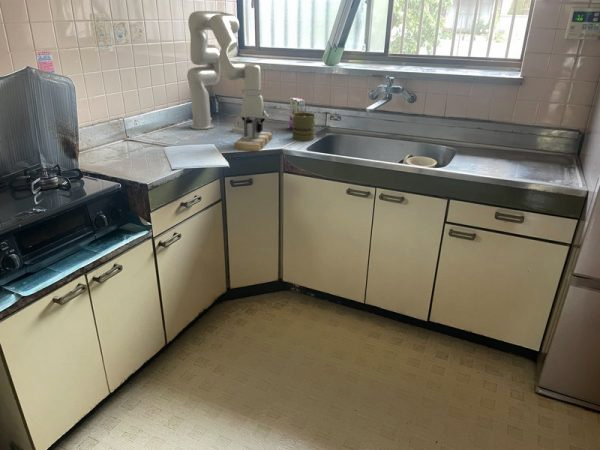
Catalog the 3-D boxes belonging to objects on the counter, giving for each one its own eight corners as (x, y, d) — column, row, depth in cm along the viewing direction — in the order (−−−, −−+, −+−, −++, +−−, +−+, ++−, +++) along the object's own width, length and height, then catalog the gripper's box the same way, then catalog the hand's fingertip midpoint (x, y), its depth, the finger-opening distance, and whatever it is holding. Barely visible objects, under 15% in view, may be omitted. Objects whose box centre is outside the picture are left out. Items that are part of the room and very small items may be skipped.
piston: (291, 116, 219) (293, 112, 229) (291, 140, 224) (293, 135, 234) (314, 117, 218) (315, 112, 228) (313, 141, 223) (315, 136, 233)
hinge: (230, 131, 240) (234, 112, 238) (237, 132, 243) (240, 114, 242) (253, 136, 230) (257, 117, 229) (259, 137, 234) (263, 118, 233)
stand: (250, 137, 229) (249, 130, 227) (272, 138, 227) (272, 132, 225) (234, 149, 207) (234, 142, 206) (259, 151, 205) (259, 144, 204)
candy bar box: (305, 131, 242) (306, 100, 235) (297, 132, 240) (297, 101, 233) (297, 127, 251) (297, 97, 244) (289, 127, 249) (289, 97, 242)
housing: (244, 137, 209) (243, 120, 206) (253, 130, 222) (252, 114, 218) (254, 137, 208) (254, 120, 205) (262, 130, 221) (262, 114, 217)
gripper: (232, 92, 205) (234, 132, 213) (268, 94, 202) (268, 134, 210) (238, 90, 212) (239, 128, 219) (272, 92, 209) (272, 130, 216)
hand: (253, 131), depth 215 cm, fingers closed on housing, 5 cm apart
